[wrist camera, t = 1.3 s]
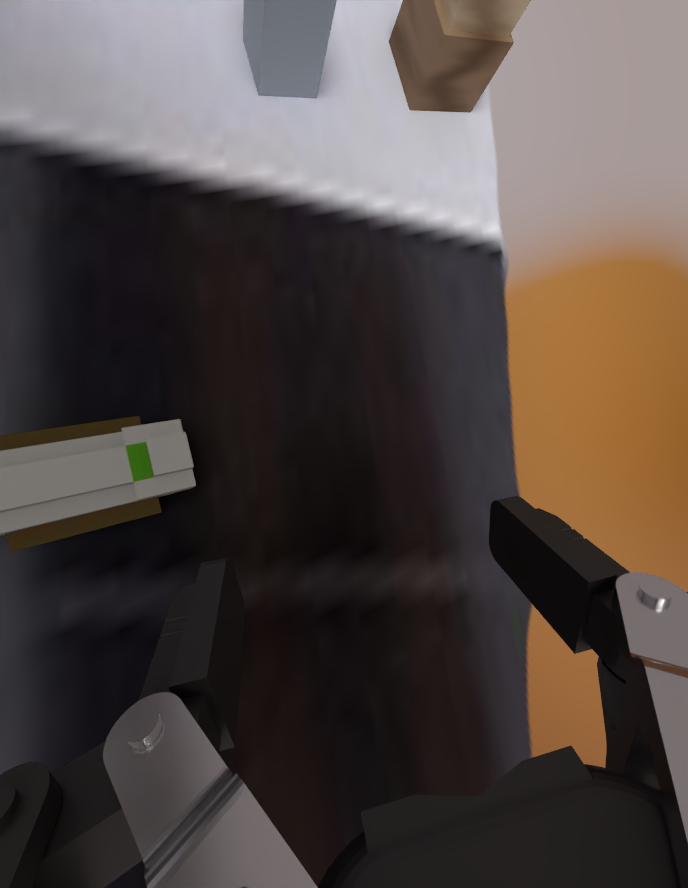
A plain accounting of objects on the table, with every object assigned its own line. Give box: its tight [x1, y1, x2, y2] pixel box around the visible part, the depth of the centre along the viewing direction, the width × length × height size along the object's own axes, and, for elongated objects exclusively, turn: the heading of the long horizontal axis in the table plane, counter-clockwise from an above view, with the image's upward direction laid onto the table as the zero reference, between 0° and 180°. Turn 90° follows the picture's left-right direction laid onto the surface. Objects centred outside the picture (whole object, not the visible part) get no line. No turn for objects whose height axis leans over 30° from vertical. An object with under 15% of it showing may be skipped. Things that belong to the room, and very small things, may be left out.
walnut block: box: [389, 0, 514, 112], centre depth 32 cm, size 7×7×6 cm
